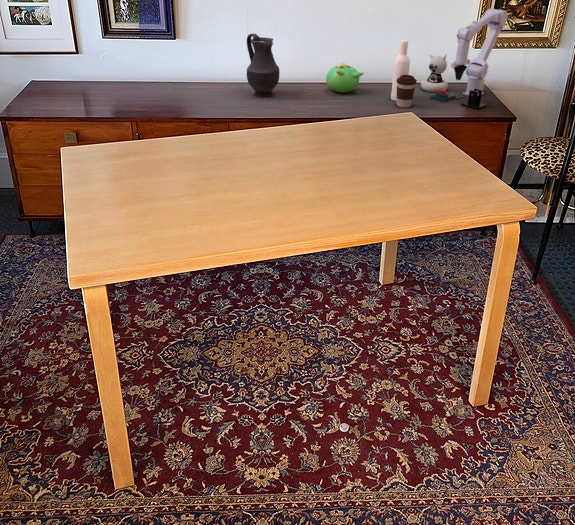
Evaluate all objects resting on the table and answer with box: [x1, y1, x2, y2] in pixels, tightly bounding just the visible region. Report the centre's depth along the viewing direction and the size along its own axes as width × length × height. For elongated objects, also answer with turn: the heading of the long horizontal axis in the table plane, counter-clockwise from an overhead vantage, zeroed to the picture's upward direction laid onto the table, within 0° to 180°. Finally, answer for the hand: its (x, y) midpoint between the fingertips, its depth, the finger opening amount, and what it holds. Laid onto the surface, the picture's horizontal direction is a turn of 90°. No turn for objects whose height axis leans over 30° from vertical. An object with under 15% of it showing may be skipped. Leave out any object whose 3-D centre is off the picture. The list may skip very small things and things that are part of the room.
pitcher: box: [246, 32, 280, 98], centre depth 331 cm, size 17×21×30 cm
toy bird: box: [325, 62, 365, 93], centre depth 341 cm, size 18×17×15 cm
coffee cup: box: [396, 74, 418, 109], centre depth 321 cm, size 10×10×15 cm
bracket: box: [460, 89, 487, 111], centre depth 324 cm, size 10×8×8 cm
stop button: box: [439, 89, 447, 94], centre depth 334 cm, size 4×4×2 cm
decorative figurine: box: [420, 54, 449, 93], centre depth 346 cm, size 15×15×20 cm
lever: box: [456, 91, 479, 101], centre depth 326 cm, size 11×6×2 cm, turn 43°
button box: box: [430, 91, 456, 103], centre depth 336 cm, size 11×8×4 cm
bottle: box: [390, 39, 411, 102], centre depth 327 cm, size 8×8×30 cm
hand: (458, 79), depth 331 cm, fingers closed
